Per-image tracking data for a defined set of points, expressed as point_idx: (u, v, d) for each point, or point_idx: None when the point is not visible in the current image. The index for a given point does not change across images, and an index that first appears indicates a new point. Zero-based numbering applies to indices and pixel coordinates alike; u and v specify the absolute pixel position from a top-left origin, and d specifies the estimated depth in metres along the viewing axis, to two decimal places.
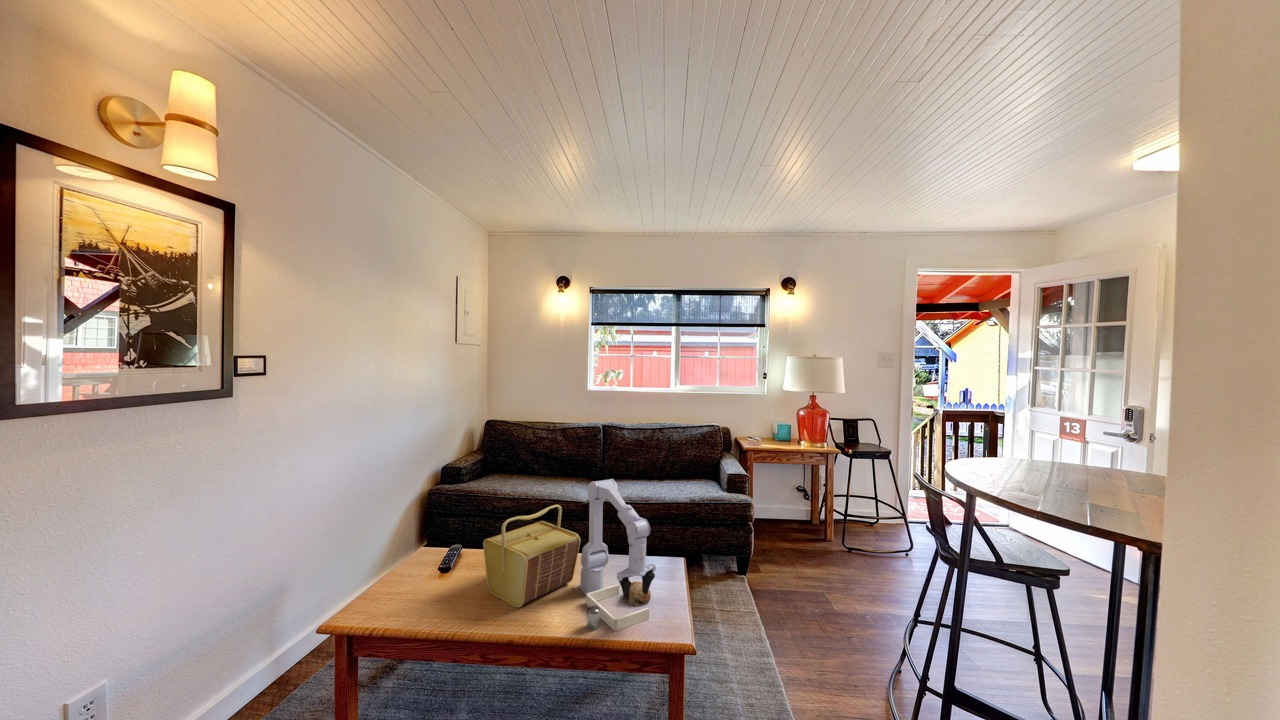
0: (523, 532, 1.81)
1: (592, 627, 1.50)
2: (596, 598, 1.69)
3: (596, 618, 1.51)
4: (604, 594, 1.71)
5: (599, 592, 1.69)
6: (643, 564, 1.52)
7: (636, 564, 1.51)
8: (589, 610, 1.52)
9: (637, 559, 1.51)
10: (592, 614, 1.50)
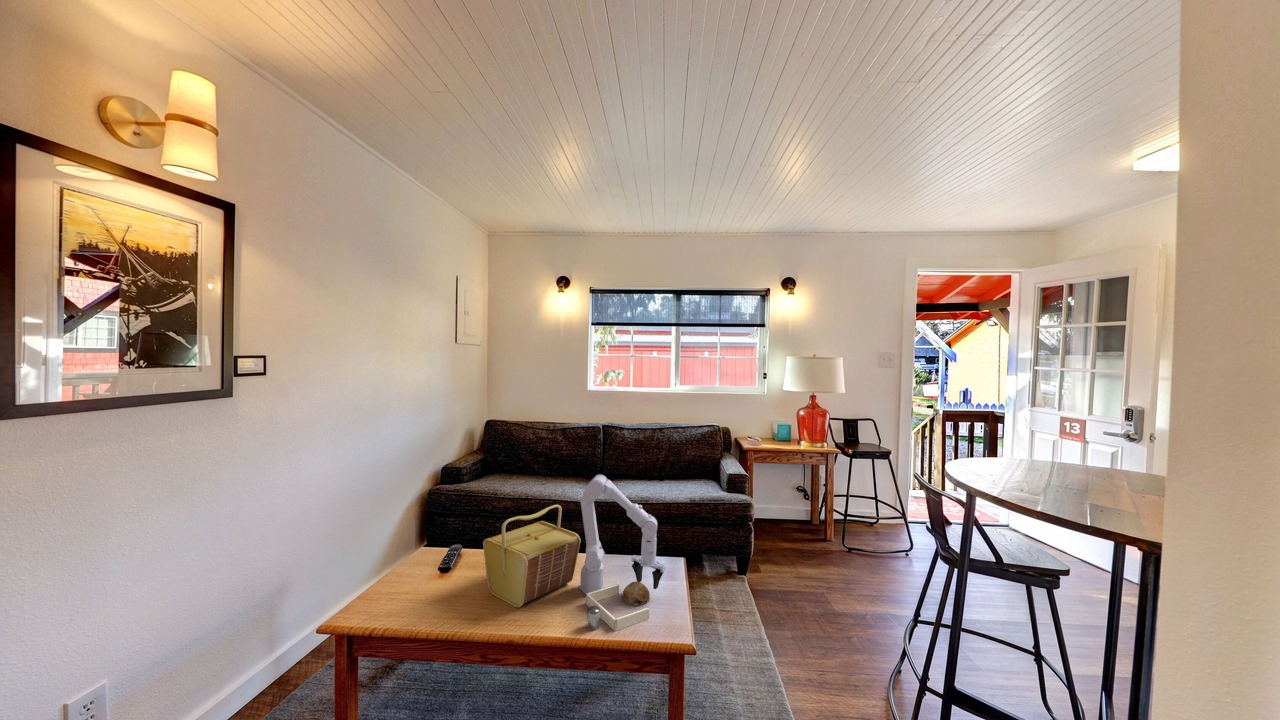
0: (523, 532, 1.81)
1: (592, 627, 1.50)
2: (596, 598, 1.69)
3: (596, 618, 1.51)
4: (604, 594, 1.71)
5: (599, 592, 1.69)
6: (646, 557, 1.72)
7: (641, 553, 1.74)
8: (589, 610, 1.52)
9: (641, 550, 1.74)
10: (592, 614, 1.50)
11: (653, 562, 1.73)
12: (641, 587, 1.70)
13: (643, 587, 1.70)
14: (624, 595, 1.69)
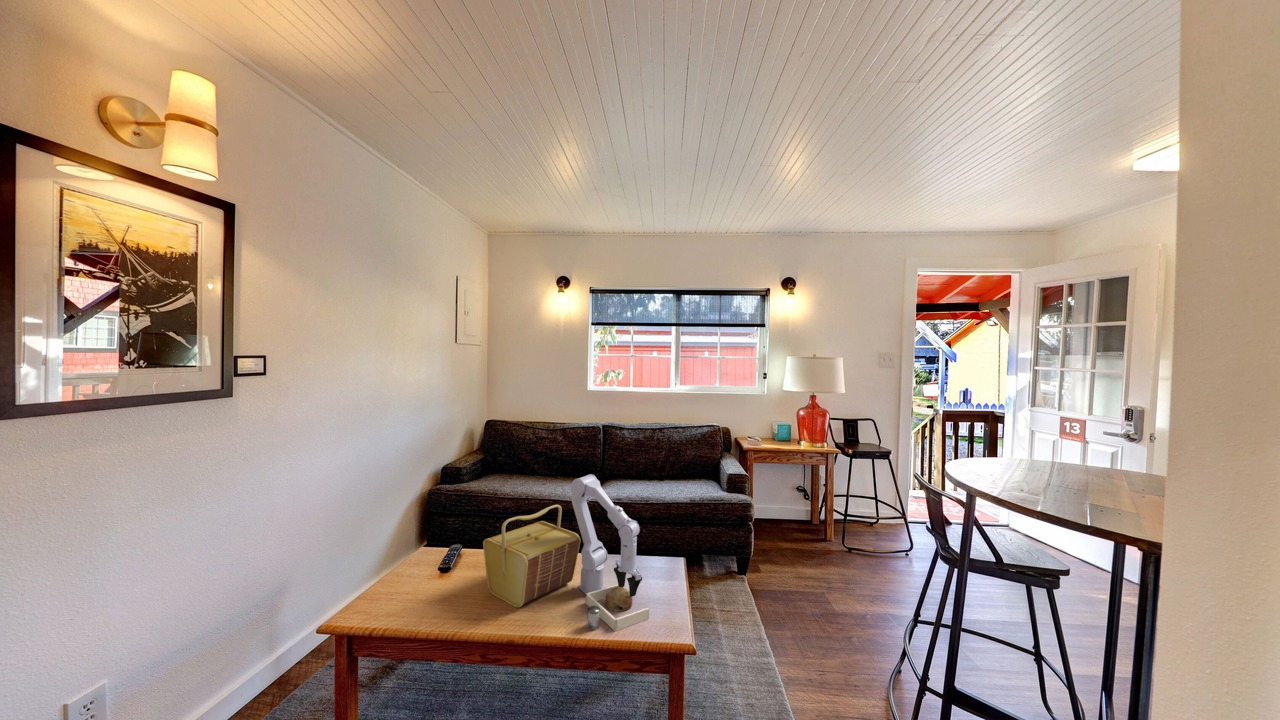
0: (523, 532, 1.81)
1: (592, 627, 1.50)
2: (596, 598, 1.69)
3: (596, 618, 1.51)
4: (604, 594, 1.71)
5: (599, 592, 1.69)
6: (623, 562, 1.67)
7: None
8: (589, 610, 1.52)
9: None
10: (592, 614, 1.50)
11: (630, 568, 1.67)
12: (623, 593, 1.65)
13: (625, 593, 1.65)
14: (606, 600, 1.65)
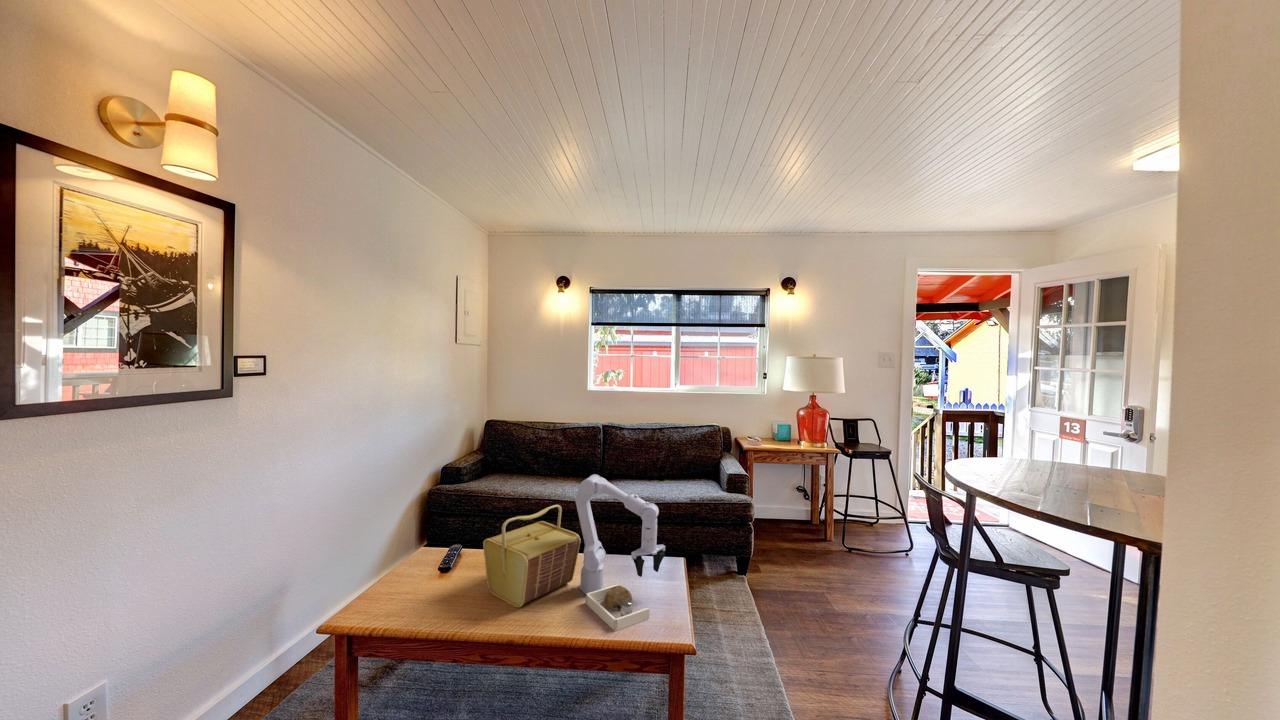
0: (523, 532, 1.81)
1: None
2: (596, 598, 1.69)
3: (629, 610, 1.56)
4: (604, 594, 1.71)
5: (599, 592, 1.69)
6: (654, 544, 1.70)
7: (648, 543, 1.69)
8: (622, 603, 1.57)
9: (649, 539, 1.69)
10: (626, 607, 1.56)
11: None
12: (622, 592, 1.66)
13: (625, 592, 1.66)
14: (605, 599, 1.66)
